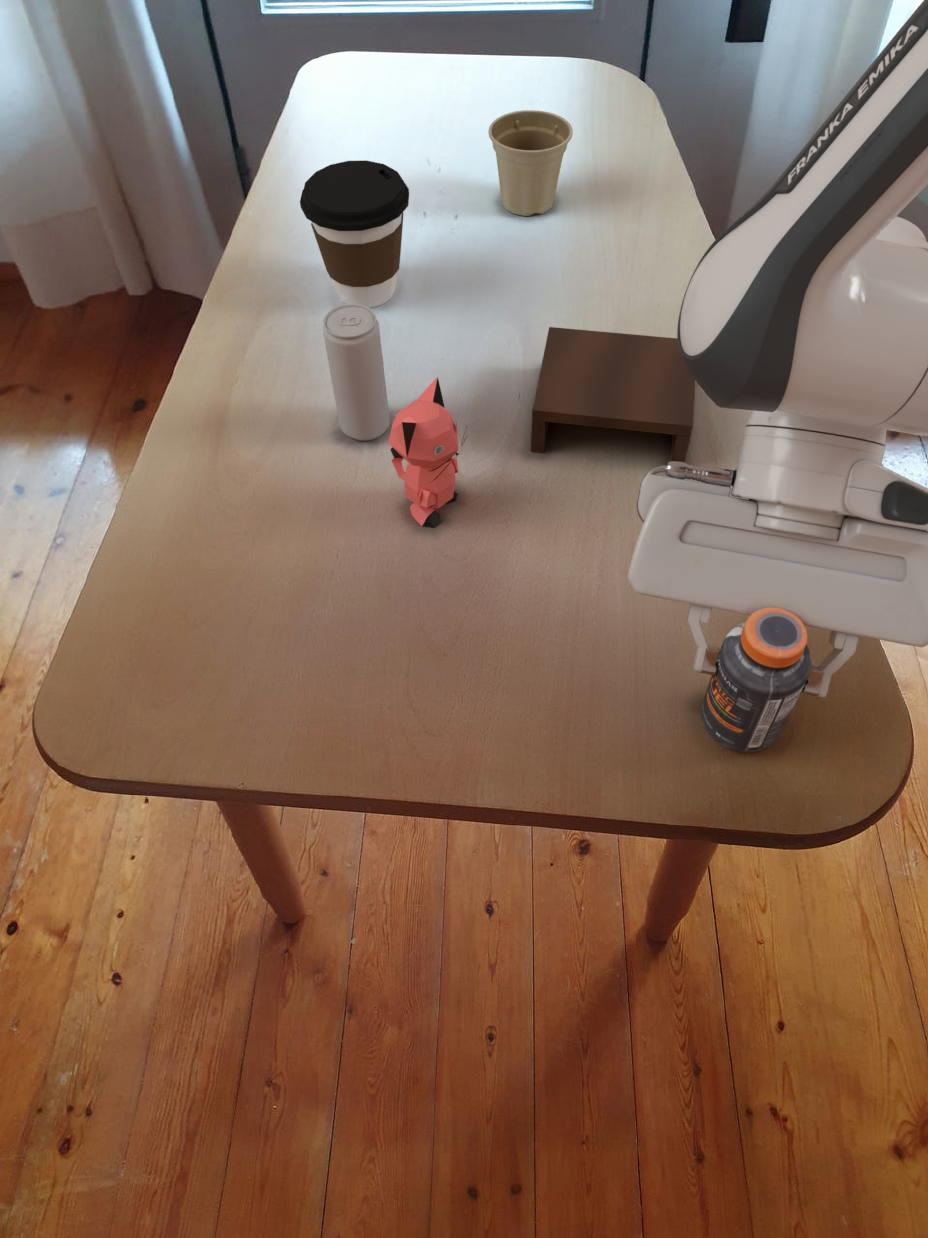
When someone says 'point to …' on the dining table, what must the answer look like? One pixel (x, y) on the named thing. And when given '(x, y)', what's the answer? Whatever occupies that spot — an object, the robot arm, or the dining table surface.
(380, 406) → the beverage can
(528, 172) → the flower pot
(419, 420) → the cat figurine
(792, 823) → the dining table surface
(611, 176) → the dining table surface
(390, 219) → the coffee cup
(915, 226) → the robot arm
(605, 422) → the shelf
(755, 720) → the pill bottle
